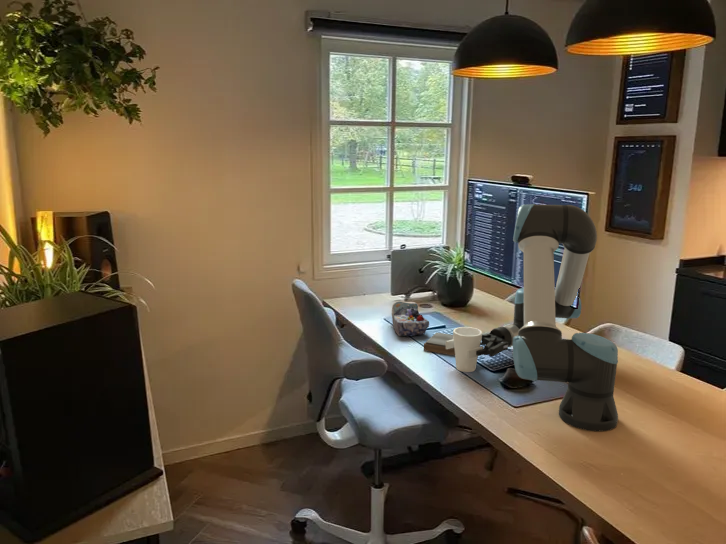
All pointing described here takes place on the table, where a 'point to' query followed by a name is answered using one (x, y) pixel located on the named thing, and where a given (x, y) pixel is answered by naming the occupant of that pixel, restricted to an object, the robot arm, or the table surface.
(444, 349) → the stand
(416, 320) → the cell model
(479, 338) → the foam cup
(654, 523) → the table surface
